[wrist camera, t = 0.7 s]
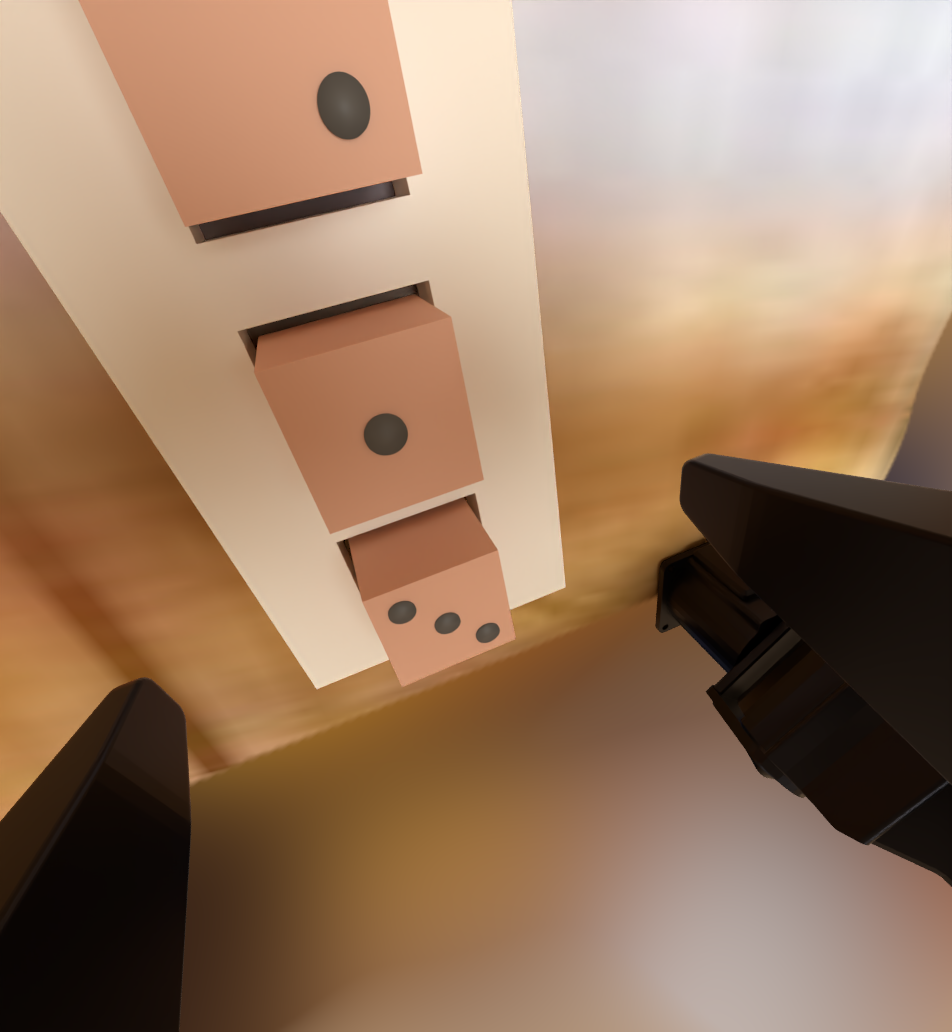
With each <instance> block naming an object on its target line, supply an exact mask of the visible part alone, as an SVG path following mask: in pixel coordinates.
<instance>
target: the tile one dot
mask: <svg viewBox="0 0 952 1032" xmlns="http://www.w3.org/2000/svg"><path fill="white" fill-rule="evenodd" d="M254 374H255V376H256V378H257V380H258V382H259V384H260V387H261V389H262V391H263V393H264V395H265V397H266V399H267V401H268V404H269V406H270V408H271V410H272V412H273V414H274V416H275V418H276V420H277V423H278V425H279V427H280V429H281V431H282V433H283V435H284V437H285V440H286V442H287V444H288V446H289V448H290V450H291V452H292V454H293V457H294V459H295V461H296V463H297V465H298V467H299V469H300V471H301V473H302V476H303V478H304V480H305V482H306V484H307V486H308V488H309V490H310V493H311V495H312V497H313V499H314V501H315V503H316V505H317V507H318V510H319V512H320V514H321V516H322V518H323V520H324V522H325V524H326V526H327V529H328V531H329V533H330V534H332V533H335V532H338V531H341V530H343V529H346V528H349V527H352V526H355V525H358V524H360V523H363V522H366V521H369V520H372V519H374V518H377V517H380V516H383V515H386V514H389V513H391V512H394V511H397V510H400V509H403V508H406V507H408V506H411V505H414V504H417V503H420V502H423V501H425V500H428V499H431V498H434V497H437V496H440V495H442V494H445V493H448V492H451V491H454V490H457V489H459V488H462V487H465V486H468V485H471V484H474V483H476V482H479V481H482V480H484V478H483V473H482V468H481V463H480V458H479V453H478V448H477V443H476V438H475V433H474V428H473V423H472V418H471V413H470V408H469V403H468V398H467V393H466V388H465V383H464V378H463V373H462V368H461V363H460V358H459V353H458V348H457V343H456V338H455V333H454V328H453V323H452V318H451V316H449V315H448V314H446V313H444V312H443V311H441V310H439V309H438V308H436V307H435V306H433V305H431V304H430V303H428V302H426V301H425V300H423V299H422V298H420V297H418V296H417V295H415V294H413V295H409V296H406V297H402V298H398V299H395V300H391V301H387V302H384V303H380V304H376V305H373V306H369V307H365V308H361V309H358V310H354V311H350V312H347V313H343V314H339V315H336V316H332V317H328V318H325V319H321V320H317V321H314V322H310V323H306V324H302V325H299V326H295V327H291V328H288V329H284V330H280V331H277V332H273V333H269V334H266V335H262V336H258V344H257V352H256V361H255V369H254Z"/></svg>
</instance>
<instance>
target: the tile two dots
mask: <svg viewBox="0 0 952 1032" xmlns="http://www.w3.org/2000/svg"><path fill="white" fill-rule="evenodd" d="M78 1H79V3H80V5H81V7H82V9H83V11H84V13H85V15H86V18H87V20H88V22H89V24H90V26H91V28H92V30H93V32H94V35H95V37H96V39H97V41H98V43H99V45H100V47H101V49H102V52H103V54H104V56H105V58H106V60H107V62H108V64H109V66H110V69H111V71H112V73H113V75H114V77H115V79H116V81H117V83H118V85H119V88H120V90H121V92H122V94H123V96H124V98H125V100H126V102H127V105H128V107H129V109H130V111H131V113H132V115H133V117H134V119H135V122H136V124H137V126H138V128H139V130H140V132H141V134H142V136H143V138H144V141H145V143H146V145H147V147H148V149H149V151H150V153H151V155H152V158H153V160H154V162H155V164H156V166H157V168H158V170H159V172H160V175H161V177H162V179H163V181H164V183H165V185H166V187H167V189H168V191H169V194H170V196H171V198H172V200H173V202H174V204H175V206H176V208H177V211H178V213H179V215H180V217H181V219H182V221H183V223H184V225H185V227H187V226H192V225H197V224H201V223H206V222H211V221H215V220H220V219H224V218H229V217H233V216H237V215H242V214H246V213H251V212H255V211H260V210H264V209H269V208H273V207H277V206H282V205H286V204H291V203H295V202H300V201H304V200H309V199H313V198H318V197H322V196H326V195H331V194H335V193H340V192H344V191H349V190H353V189H358V188H362V187H367V186H371V185H375V184H380V183H384V182H389V181H393V180H397V179H402V178H406V177H410V176H415V175H419V174H423V173H422V168H421V163H420V158H419V153H418V148H417V144H416V139H415V134H414V129H413V124H412V119H411V114H410V109H409V104H408V99H407V94H406V89H405V84H404V79H403V74H402V69H401V64H400V59H399V54H398V49H397V44H396V39H395V34H394V29H393V24H392V19H391V14H390V9H389V4H388V0H78Z"/></svg>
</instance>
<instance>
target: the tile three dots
mask: <svg viewBox="0 0 952 1032" xmlns="http://www.w3.org/2000/svg"><path fill="white" fill-rule="evenodd" d="M348 541H349V545H350V550H351V554H352V559H353V563H354V568H355V572H356V577H357V581H358V586H359V590H360V595H361V599H362V603H363V605H364V607H365V609H366V611H367V613H368V616H369V618H370V620H371V622H372V624H373V626H374V628H375V630H376V632H377V635H378V637H379V639H380V641H381V643H382V645H383V647H384V649H385V652H386V654H387V656H388V658H389V660H390V662H391V664H392V666H393V669H394V671H395V673H396V675H397V677H398V679H399V681H400V683H401V685H402V687H403V686H406V685H408V684H410V683H413V682H415V681H417V680H420V679H422V678H424V677H427V676H429V675H432V674H434V673H436V672H439V671H441V670H443V669H446V668H448V667H450V666H453V665H455V664H458V663H460V662H462V661H465V660H467V659H469V658H472V657H474V656H477V655H479V654H481V653H484V652H486V651H488V650H491V649H493V648H495V647H498V646H500V645H503V644H505V643H507V642H510V641H512V640H514V639H516V637H515V632H514V627H513V622H512V617H511V612H510V607H509V602H508V597H507V592H506V587H505V582H504V577H503V572H502V567H501V562H500V557H499V552H498V549H497V548H496V546H495V545H494V543H493V542H492V540H491V538H490V537H489V535H488V534H487V532H486V531H485V529H484V528H483V526H482V525H481V523H480V522H479V520H478V519H477V517H476V516H475V514H474V513H473V511H472V509H471V508H470V506H469V505H468V503H467V502H466V500H465V499H464V497H462V498H459V499H457V500H454V501H451V502H448V503H445V504H443V505H440V506H437V507H434V508H431V509H429V510H426V511H423V512H420V513H417V514H415V515H412V516H409V517H406V518H403V519H401V520H398V521H395V522H392V523H390V524H387V525H384V526H381V527H378V528H376V529H373V530H370V531H367V532H364V533H362V534H359V535H356V536H353V537H350V538H348Z"/></svg>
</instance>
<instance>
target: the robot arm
mask: <svg viewBox="0 0 952 1032" xmlns="http://www.w3.org/2000/svg"><path fill="white" fill-rule="evenodd" d="M680 504H681V507H682V509H683V511H684V513H685V514H686V515H687V516H688V518H689V519H690V520H691V521H692V522H693V524H694V525H695V526H696V527H697V528H698V530H699V531H700V532H701V533H702V534H703V536H704V537H705V538H706V539H707V540H708V543H705V544H703V545H701V546H698V547H696V548H693V549H691V550H689V551H686V552H684V553H681V554H679V555H677V556H674V557H672V558H669V559H667V560H665V561H664V562H663V563H662V564H661V566H660V573H659V586H658V599H657V613H656V628H657V629H658V630H659V631H660V632H661V633H663V632H666V631H668V630H670V629H672V628H675V627H677V626H679V625H681V626H682V627H683V628H684V629H685V630H686V631H687V632H688V633H689V634H690V635H691V636H692V637H693V638H694V639H695V640H696V641H697V642H698V643H699V644H700V645H701V647H702V648H703V649H704V650H706V652H707V653H708V654H709V655H710V656H711V657H712V658H713V659H714V660H715V661H716V662H717V663H718V664H719V665H720V666H721V667H722V668H723V669H724V670H725V671H726V672H727V674H726V675H725V676H724V677H723V678H722V679H721V680H720V681H719V682H718V683H717V684H715V685H712V686H711V687H710V688H709V689H708V690H707V691H706V692H707V694H708V695H709V697H710V698H711V699H712V701H713V705H714V707H715V708H716V709H717V711H718V712H719V714H720V715H721V716H722V718H723V719H724V721H725V722H726V723H727V724H728V726H729V727H730V729H731V730H732V731H733V733H734V734H735V735H736V737H737V738H738V740H739V741H740V743H741V744H742V745H743V747H744V748H745V749H746V751H747V753H748V755H749V757H750V758H751V760H752V762H753V764H754V766H755V767H756V769H757V770H758V772H759V773H760V774H761V775H763V776H764V777H766V778H771V779H775V780H777V781H778V782H779V783H780V784H781V785H783V786H784V787H785V788H786V789H788V790H789V791H790V792H792V793H793V794H795V795H797V796H799V797H802V798H804V797H807V798H808V799H809V800H810V801H811V802H812V803H813V804H814V805H815V807H816V808H817V809H818V810H819V811H820V812H821V814H823V816H824V817H825V818H826V819H827V820H828V822H829V823H830V824H831V825H832V826H833V827H834V828H835V829H836V830H838V831H840V832H841V833H843V834H845V835H847V836H849V837H851V838H853V839H854V840H856V841H858V842H860V843H862V844H865V845H869V844H871V843H872V844H874V845H876V846H878V847H880V848H882V849H885V850H887V851H889V852H891V853H893V854H896V855H898V856H900V857H902V858H904V859H906V860H908V861H911V862H913V863H915V864H917V865H919V866H921V867H924V868H925V869H928V870H930V871H932V872H934V873H936V874H938V875H939V876H941V877H942V878H943V879H944V880H945V881H946V882H947V883H948V884H950V885H951V887H952V491H948V490H941V489H935V488H928V487H922V486H916V485H909V484H903V483H896V482H890V481H884V480H877V479H871V478H864V477H858V476H851V475H845V474H838V473H832V472H825V471H819V470H813V469H806V468H800V467H793V466H787V465H780V464H774V463H767V462H761V461H754V460H748V459H742V458H735V457H729V456H722V455H716V454H703V455H700V456H697V457H695V458H692V459H690V460H688V461H686V462H685V463H684V465H683V467H682V474H681V487H680ZM190 838H191V802H190V784H189V767H188V749H187V732H186V719H185V715H184V712H183V710H182V709H181V707H180V706H179V704H178V703H176V702H175V701H174V700H173V699H172V698H171V697H170V696H169V695H168V694H167V693H166V692H165V691H164V690H163V689H162V688H161V687H160V686H158V685H157V684H156V683H155V682H154V681H153V680H152V679H149V678H146V677H144V678H138V679H136V680H133V681H131V682H128V683H126V684H123V685H121V686H118V687H116V688H115V689H113V690H112V691H111V692H110V693H109V694H108V695H107V696H106V697H105V698H104V700H103V701H102V702H101V703H100V704H99V706H98V707H97V708H96V709H95V710H94V711H93V713H92V714H91V715H90V716H89V717H88V719H87V720H86V721H85V722H84V723H83V724H82V726H81V727H80V728H79V729H78V730H77V732H76V733H75V734H74V735H73V736H72V737H71V739H70V740H69V741H68V742H67V743H66V744H65V746H64V747H63V748H62V749H61V750H60V752H59V753H58V754H57V755H56V756H55V757H54V759H53V760H52V761H51V762H50V763H49V765H48V766H47V767H46V768H45V769H44V770H43V772H42V773H41V774H40V775H39V776H38V778H37V779H36V780H35V781H34V782H33V783H32V785H31V786H30V787H29V788H28V789H27V791H26V792H25V793H24V794H23V795H22V796H21V798H20V799H19V800H18V801H17V802H16V804H15V805H14V806H13V807H12V808H11V809H10V811H9V812H8V813H7V814H6V815H5V817H4V818H3V819H2V820H1V821H0V1032H179V1027H180V1010H181V993H182V976H183V975H182V974H183V959H184V941H185V923H186V908H187V891H188V874H189V857H190Z"/></svg>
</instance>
